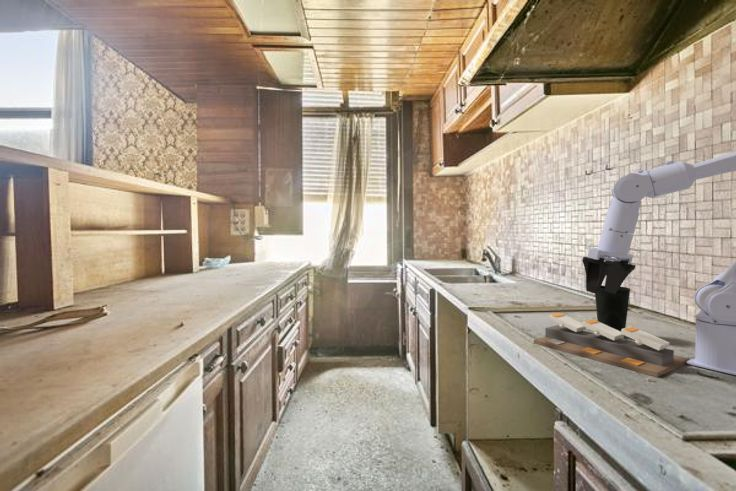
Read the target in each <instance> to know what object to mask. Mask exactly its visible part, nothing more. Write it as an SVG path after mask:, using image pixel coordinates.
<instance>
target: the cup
mask: <svg viewBox="0 0 736 491" xmlns="http://www.w3.org/2000/svg"><path fill="white" fill-rule="evenodd" d="M630 293H631V288H630V287H625V286H620V288H619V289H618V291H617V293H616V294H612V293H609V292H606V291H605V285H601V288H600V290H599V292H598V293H597V294H594V299H595V308H596V317H597V319H596V320H597V321H599V322H600V323H603V324H605V325H607V326H609V327H612V328H614V329H616V330H618V331H621V330H622V329H623V328H627V319H628V310H629V302H630V301H629V300H630ZM624 337H626V336H625V335H624Z"/></svg>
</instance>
